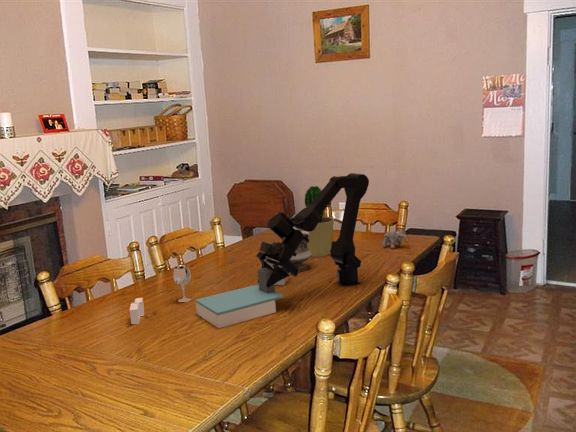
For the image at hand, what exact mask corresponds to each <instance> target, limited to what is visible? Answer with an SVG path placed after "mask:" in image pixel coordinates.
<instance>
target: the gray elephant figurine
mask: <svg viewBox="0 0 576 432" xmlns="http://www.w3.org/2000/svg"><path fill="white" fill-rule="evenodd" d="M383 237H384V238H383V241H382V248H386V247H387V243H388V245H390V246H389V247H390V249H391V250H394V249H396V243H397V244H398V246H399V247H400V248H401V247H402V246H403V243H402V242H403V238H404V239H405V240H406V243H409V239H408V236H407V234H406V231H405V230H404V229H401V230H397V231H394V230H392V231H388V232H385V234H384V235H383Z"/></svg>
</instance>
